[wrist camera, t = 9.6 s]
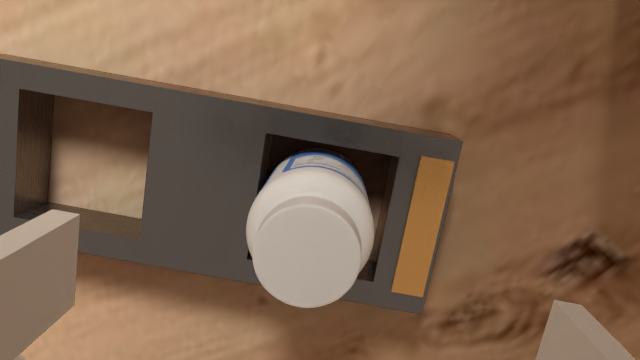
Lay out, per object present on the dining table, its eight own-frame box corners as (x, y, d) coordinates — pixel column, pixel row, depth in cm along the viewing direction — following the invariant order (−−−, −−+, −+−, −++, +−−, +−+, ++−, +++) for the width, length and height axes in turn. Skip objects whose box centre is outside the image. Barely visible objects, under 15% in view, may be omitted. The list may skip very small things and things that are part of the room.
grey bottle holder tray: (5, 54, 27) (-40, 51, 23) (449, 134, 26) (463, 142, 23) (-1, 214, 28) (-44, 231, 25) (413, 289, 28) (422, 316, 25)
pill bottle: (309, 259, 28) (292, 355, 19) (248, 186, 28) (197, 248, 18) (387, 201, 27) (410, 272, 18) (325, 124, 27) (315, 155, 17)
